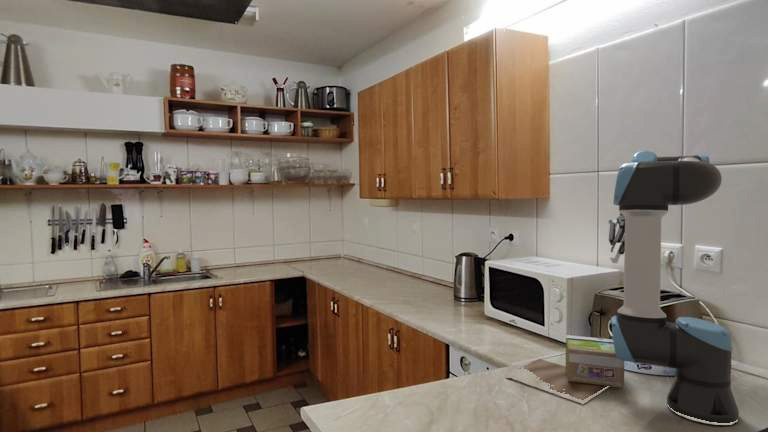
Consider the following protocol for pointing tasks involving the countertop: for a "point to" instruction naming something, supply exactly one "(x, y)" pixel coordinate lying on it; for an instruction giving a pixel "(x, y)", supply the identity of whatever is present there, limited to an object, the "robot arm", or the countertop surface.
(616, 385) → the tea box
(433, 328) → the countertop surface
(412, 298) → the countertop surface
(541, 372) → the walnut board
